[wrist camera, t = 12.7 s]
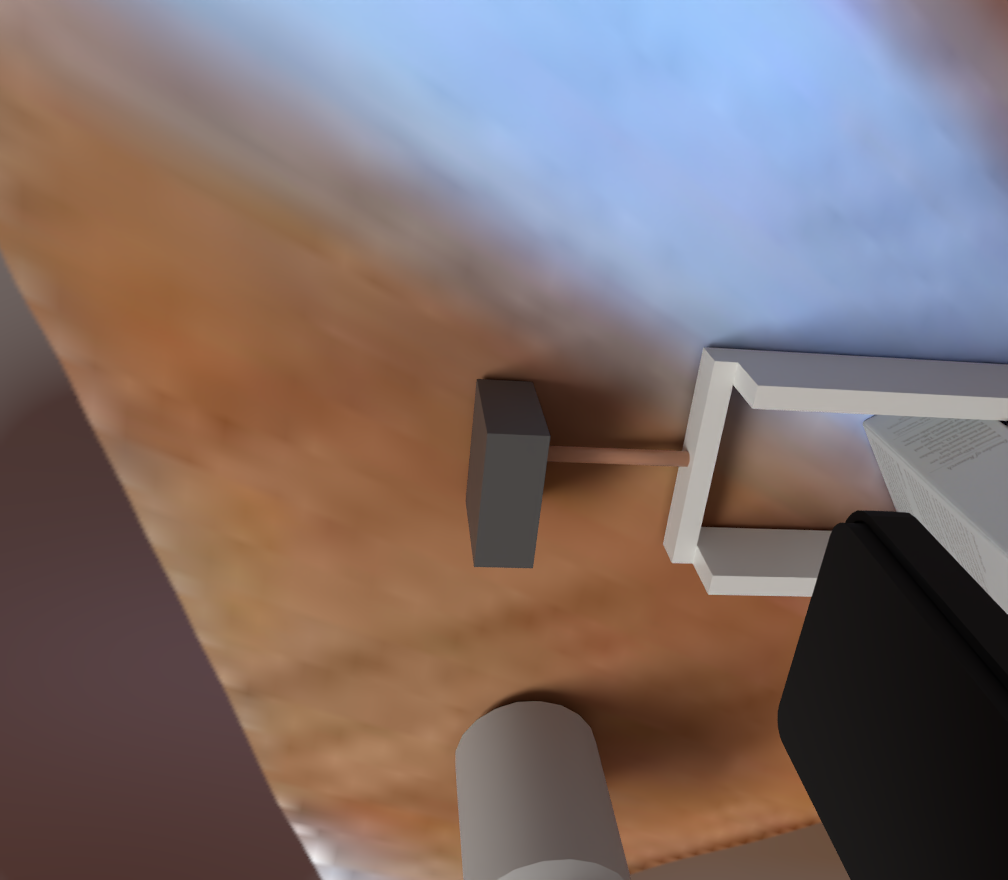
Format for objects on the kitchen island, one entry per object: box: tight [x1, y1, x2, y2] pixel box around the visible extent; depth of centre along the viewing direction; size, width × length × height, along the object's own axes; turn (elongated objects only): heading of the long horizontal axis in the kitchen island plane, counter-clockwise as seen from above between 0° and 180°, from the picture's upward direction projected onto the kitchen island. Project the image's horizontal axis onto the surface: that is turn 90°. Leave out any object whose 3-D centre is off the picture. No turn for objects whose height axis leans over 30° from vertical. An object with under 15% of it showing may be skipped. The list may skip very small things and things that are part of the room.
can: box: [456, 701, 631, 880], centre depth 44 cm, size 8×8×12 cm
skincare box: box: [863, 415, 1008, 614], centre depth 38 cm, size 6×4×12 cm
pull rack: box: [466, 347, 1008, 597], centre depth 40 cm, size 10×26×6 cm, turn 84°
